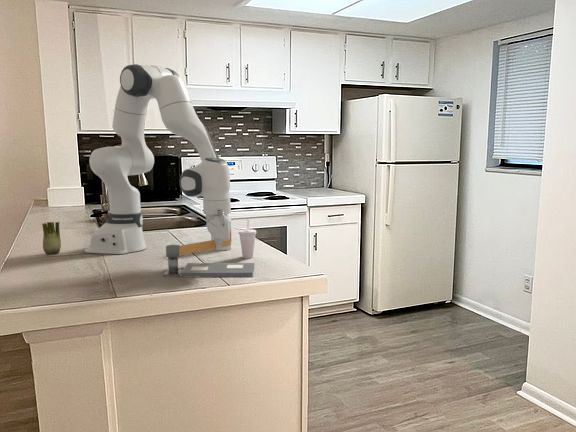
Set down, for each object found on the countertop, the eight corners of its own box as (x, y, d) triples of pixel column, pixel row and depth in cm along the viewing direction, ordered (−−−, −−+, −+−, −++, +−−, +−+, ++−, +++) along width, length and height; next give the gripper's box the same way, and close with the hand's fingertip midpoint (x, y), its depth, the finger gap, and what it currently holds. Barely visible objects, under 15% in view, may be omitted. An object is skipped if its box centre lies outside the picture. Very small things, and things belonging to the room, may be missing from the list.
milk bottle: (227, 251, 190) (226, 198, 187) (208, 250, 192) (207, 198, 189) (234, 247, 198) (233, 196, 195) (215, 246, 199) (214, 195, 196)
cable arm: (170, 258, 156) (170, 248, 155) (163, 256, 158) (163, 246, 158) (232, 246, 172) (232, 237, 171) (225, 244, 175) (225, 235, 174)
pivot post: (163, 276, 157) (163, 258, 156) (167, 272, 162) (166, 255, 161) (179, 276, 157) (179, 258, 156) (182, 271, 162) (182, 255, 161)
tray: (181, 276, 156) (181, 271, 156) (188, 266, 168) (188, 262, 168) (252, 276, 157) (252, 271, 156) (254, 266, 169) (254, 262, 168)
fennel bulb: (61, 252, 189) (59, 220, 187) (60, 255, 185) (58, 222, 183) (44, 253, 187) (42, 221, 186) (42, 256, 183) (40, 223, 181)
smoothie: (242, 260, 177) (242, 220, 175) (236, 256, 183) (235, 218, 180) (259, 258, 180) (259, 219, 178) (252, 254, 186) (252, 216, 183)
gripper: (233, 211, 156) (234, 255, 158) (220, 204, 175) (221, 243, 177) (213, 212, 154) (214, 257, 156) (202, 204, 173) (203, 244, 175)
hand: (218, 249), depth 167 cm, fingers closed
